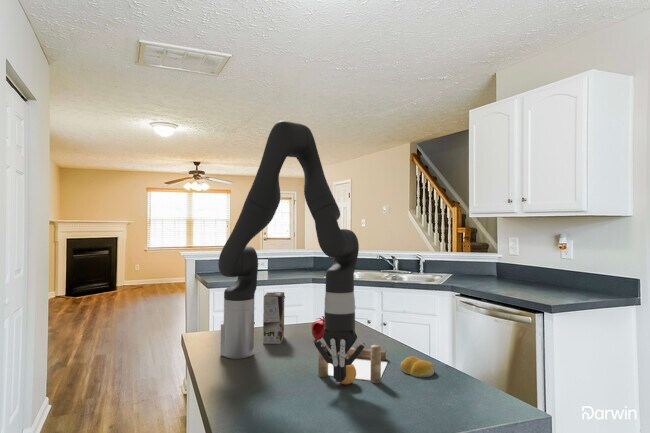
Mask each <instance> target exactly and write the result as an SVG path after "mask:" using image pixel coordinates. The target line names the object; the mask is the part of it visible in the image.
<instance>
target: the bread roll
mask: <svg viewBox="0 0 650 433" xmlns="http://www.w3.org/2000/svg"><path fill="white" fill-rule="evenodd" d="M400 368H401V371H402V372H403V373H405V374H406V375H410V376H413V377H416V378H425V377H426V378H427V377H432V376H433V375H434V373H435V367H434V365H433V363H432V362H431V361H428V360H425V359H421V358H420V357H417V356H413V355H411V356H407V357H405V359H403V361H401V362H400Z"/></svg>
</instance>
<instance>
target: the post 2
mask: <svg viewBox="0 0 650 433" xmlns="http://www.w3.org/2000/svg"><path fill="white" fill-rule="evenodd" d="M370 349H371V381H370V383H371V384H380V383H381V382H382V377H381V350H382V346H381V345H378V344H372V345H370Z"/></svg>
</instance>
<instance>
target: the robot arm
mask: <svg viewBox="0 0 650 433" xmlns="http://www.w3.org/2000/svg"><path fill="white" fill-rule="evenodd" d="M263 150H264V151H263V153H262V154H263V155H262V157H261V161H260V164H259V166H258V169H257V172H256V175H255V177H254V180H253V183H252V184H251V187H250V189H249V191H248V194H247V196H246V198H245V201H244V203H243V206H242V208H241V212H240V214H239V216H238V218H237V220H236V223H235V224H234V227H233V230H232V231H231V232H230V234H229V237H228V238H227V240H226V242H225V244H224V245H223V248H222V249H221V252H220V254H219V258H218V271H219V272H220V274H221V275H222V276H223V277H227V278H236V277H237V279H236V281H235V282H234V283H233V284H231V285H230V286H228V287H227V288H225V290H224V291H223V322H222V323H220V352H219V353H220V356H223V357H224V358H228V359H233V360H236V359H239V360H240V359H245V358H249V357H252V356H253V355H254V353H255V352H254V351H255V349H254V348H255V343H254V342H255V293H256V291H257V286H258V274H259V273H258V272H259V270H258V269H259V257H258V254H257V251H256V249H255V248H254V247H252V246H251V245H250V246H249V245H248V244H249V243H250V242H251V240H252V239H254V238H255V237H256V236H257V235H258V234H259V233H261V231H263V230H264V229H265V228H266V227H267V226H268V225H269V224H270V223H271V221H272V220H273V218H274V216H275V214H276V212H277V209H278V207H279V206H280V202H281V186H280V173H281V170H282V167H283V165H284V163H285V161H286V159H287V158H295V159H297V161H298V163H299V164H300V167H301V168H302V171H303V176H304V184H303V196H304V198H305V202H306V205H307V207H308V209H309V212H310V214H311V217H312V218H313V220H314V226H315V232H316V238H317V242H318V245H319V247H320V250H321V251H322V252H323V254H324V255H326V256H327V257H329V258H331V259H332V258H333V262H332V265H331V266H330V267H329V268H328V269H327V270H326V272H325V295H324V296H325V297H324V318H325V331H324V334H323V338H321V339H320V340H318V341H317V340H315V342H314V346H315V348H316V349H317V351H318V353H319V352H320V353H321V355H322V356H323V358H324V359H325V361H326V362H327V363H328V364H329V363H331V364H332V365H333V367H334V377H333V379H334V380H335V382H337V383H340V382H342V381H343V380H344V379H345V378H346V365H351V364H352V363H353V361H354V360H355V359H358V358H357V356H358V355H359V354H360V353H361V351H362V350H363V349H366V348H365V347H366V343H364V342H362V341H360V340H359V339H358V335H357V332H356V299H355V278H354V275H355V270H356V266H357V261H358V257H359V250H360V248H359V247H360V246H359V245H360V244H359V240H358V237H357V235H356V233H355V232H354V231H352V230H350V229H346V228H344V229H343V228H340V224H339V222H338V220H339V219H340V217H341V211H340V208H339V206H338V204H337V202H336V199H335V197H334V195H333V192H332V191H331V188H330V187H329V186H330V185H329V184H328V181H327V178H326V176H325V172H324V169H323V166H322V165H323V164H322V162H321V158H320V155H319V151H318V148H317V143H316V141H315V137H314V135H313V132H312V131H311V129H310V128H309V127H308V126H307V125H304V124H302V123H298V122H291V121H289V120H288V121H287V120H279V121H278V122H276V123H274V125H273V127H272V128H271V130H270V131H269V135H268V138H267V141H266V144H265V147H264V149H263ZM325 342H326V343H325ZM326 344H327V345H328V349H327V348H326ZM353 346H354V347H353ZM351 347H353V348H354V349H355V350H356V351H355V352H354V353H353V354H352V356H351V357H347V355H348V351H349V350H350V348H351ZM329 350H330V351H331V352H330V351H329ZM347 358H348V359H347Z"/></svg>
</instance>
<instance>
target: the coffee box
mask: <svg viewBox="0 0 650 433" xmlns="http://www.w3.org/2000/svg"><path fill="white" fill-rule="evenodd" d="M262 316H263V320H262V321H263V322H262V325H263V328H262V330H263V331H262V343H263V344H265V345H271V344H273V345H274V344H275V345H281V344H282V342H283V340H284V338H285V292H284V291H281V292H280V291H273V292H266V293H265V295H264V296H263V315H262Z"/></svg>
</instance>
